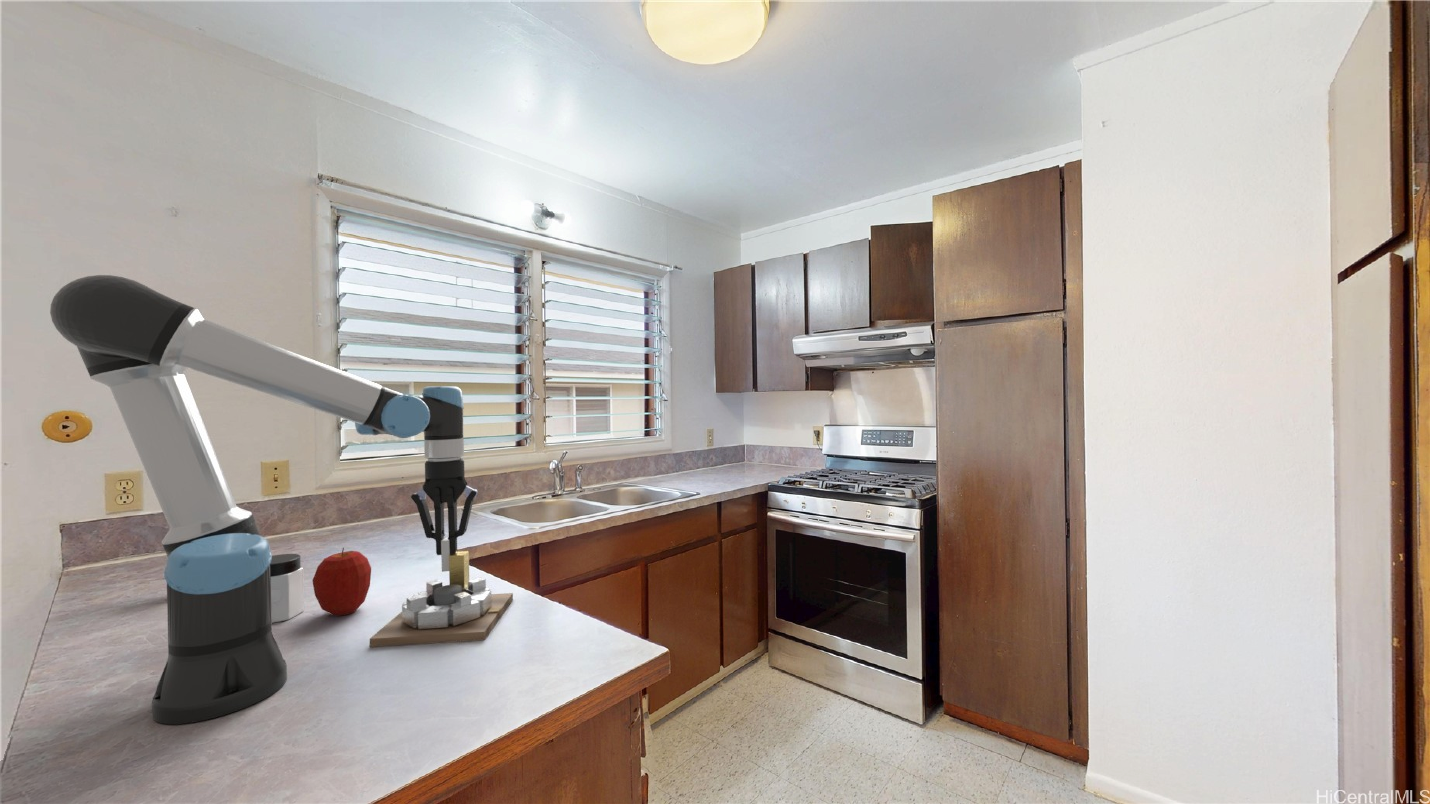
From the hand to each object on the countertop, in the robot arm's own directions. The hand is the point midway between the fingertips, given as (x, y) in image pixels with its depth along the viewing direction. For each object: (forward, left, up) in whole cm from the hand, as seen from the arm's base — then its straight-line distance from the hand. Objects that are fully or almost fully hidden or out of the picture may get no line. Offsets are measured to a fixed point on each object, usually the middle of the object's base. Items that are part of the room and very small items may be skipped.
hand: (447, 569), depth 115 cm
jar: (+1, +35, -9) cm, 36 cm away
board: (-7, -2, -9) cm, 11 cm away
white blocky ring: (-7, -2, -7) cm, 10 cm away
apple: (+1, +22, -9) cm, 23 cm away
